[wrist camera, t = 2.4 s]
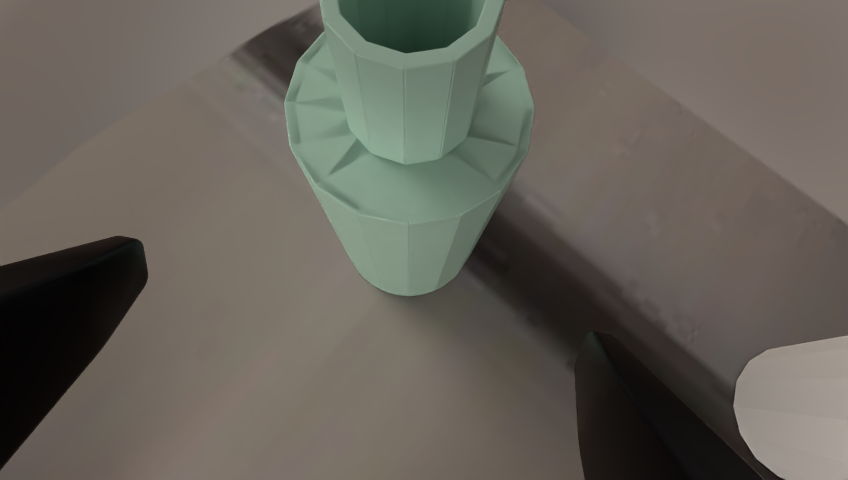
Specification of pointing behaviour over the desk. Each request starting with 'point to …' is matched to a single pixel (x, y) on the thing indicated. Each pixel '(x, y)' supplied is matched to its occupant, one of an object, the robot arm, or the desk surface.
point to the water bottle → (409, 132)
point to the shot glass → (797, 409)
